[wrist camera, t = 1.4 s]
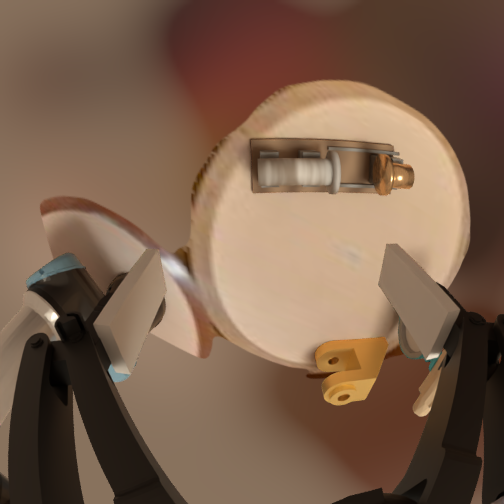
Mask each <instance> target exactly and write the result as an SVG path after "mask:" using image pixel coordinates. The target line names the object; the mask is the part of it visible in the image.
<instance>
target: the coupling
mask: <svg viewBox="0 0 504 504" xmlns="http://www.w3.org/2000/svg"><path fill="white" fill-rule="evenodd" d="M369 183H370V184H372V185H374V187H375V190H376V192H377V193H378V194H379V195H385V196H386V195H388V194H389V193H390V192H391V190H392V188H395V189H401V188H403V189H410V188H411V187H412V186H413V183H414V171H413V168H412V167H411V166H410V165H407V164H403V159H399V158H396V157H391V156H388V155H386V154H379V155H370V168H369Z"/></svg>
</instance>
